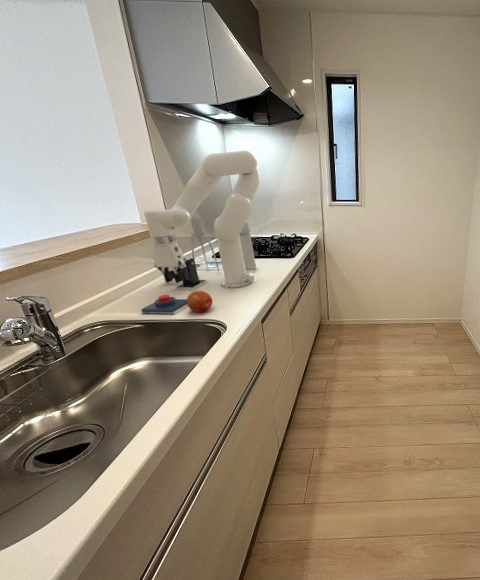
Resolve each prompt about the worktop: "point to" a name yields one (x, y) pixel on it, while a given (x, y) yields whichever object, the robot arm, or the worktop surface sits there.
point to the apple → (199, 301)
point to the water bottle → (247, 248)
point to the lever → (171, 273)
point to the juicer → (200, 237)
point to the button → (164, 298)
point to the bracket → (190, 275)
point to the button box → (165, 306)
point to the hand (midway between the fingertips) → (174, 281)
